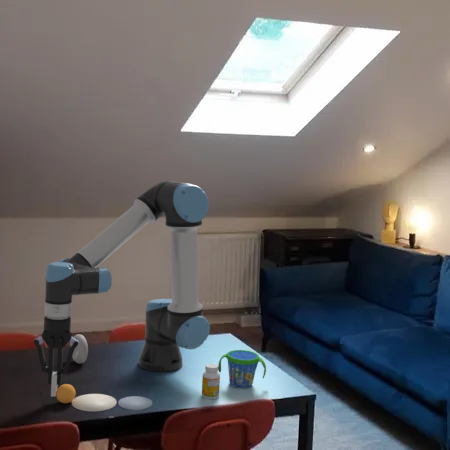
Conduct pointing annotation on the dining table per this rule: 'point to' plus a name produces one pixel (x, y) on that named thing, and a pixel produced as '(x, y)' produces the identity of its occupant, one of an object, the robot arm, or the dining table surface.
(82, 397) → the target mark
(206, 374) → the supplement bottle
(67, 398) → the ball
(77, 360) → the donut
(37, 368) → the dining table surface
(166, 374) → the dining table surface
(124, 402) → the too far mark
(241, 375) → the snack cup
